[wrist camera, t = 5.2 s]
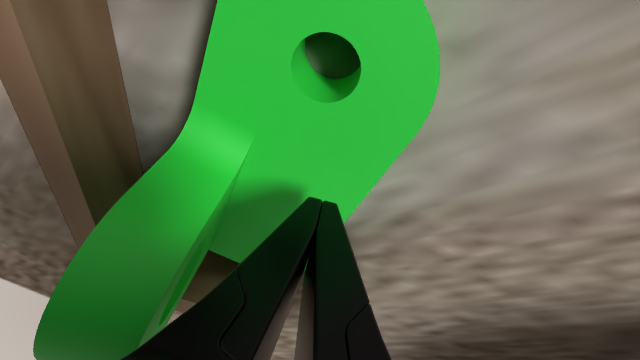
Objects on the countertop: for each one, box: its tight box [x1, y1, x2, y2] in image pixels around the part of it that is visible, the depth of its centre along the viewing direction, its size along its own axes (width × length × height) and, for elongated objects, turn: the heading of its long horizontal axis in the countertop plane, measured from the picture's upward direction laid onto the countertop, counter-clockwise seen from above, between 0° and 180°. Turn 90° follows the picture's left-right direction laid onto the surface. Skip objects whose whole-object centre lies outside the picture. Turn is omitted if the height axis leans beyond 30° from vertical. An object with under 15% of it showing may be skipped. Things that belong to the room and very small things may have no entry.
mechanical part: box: [33, 0, 440, 360], centre depth 9 cm, size 12×6×8 cm, turn 154°
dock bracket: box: [0, 0, 240, 313], centre depth 10 cm, size 7×18×4 cm, turn 169°
